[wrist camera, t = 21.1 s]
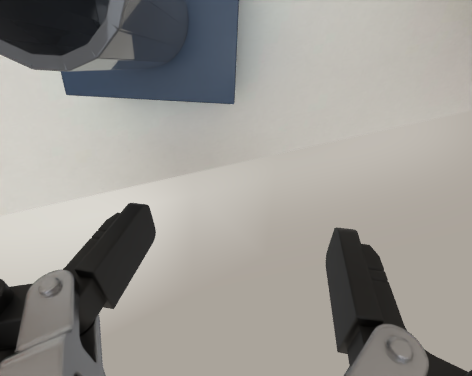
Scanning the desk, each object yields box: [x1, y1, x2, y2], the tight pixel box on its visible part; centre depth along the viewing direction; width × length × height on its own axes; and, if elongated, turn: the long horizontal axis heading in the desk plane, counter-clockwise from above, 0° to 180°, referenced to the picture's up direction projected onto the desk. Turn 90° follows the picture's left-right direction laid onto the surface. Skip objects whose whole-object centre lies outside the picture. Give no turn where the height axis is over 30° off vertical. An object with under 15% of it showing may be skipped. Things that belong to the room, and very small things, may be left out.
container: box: [61, 0, 239, 104], centre depth 19 cm, size 13×11×7 cm
